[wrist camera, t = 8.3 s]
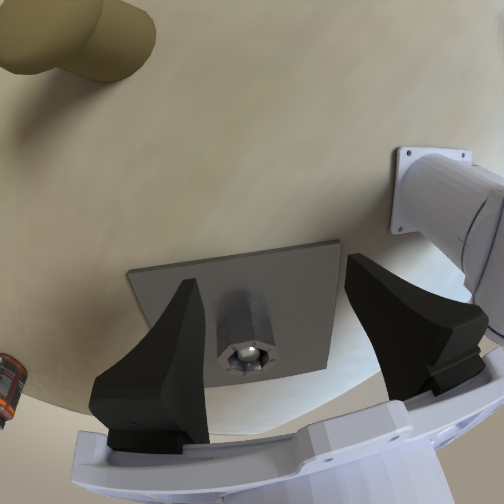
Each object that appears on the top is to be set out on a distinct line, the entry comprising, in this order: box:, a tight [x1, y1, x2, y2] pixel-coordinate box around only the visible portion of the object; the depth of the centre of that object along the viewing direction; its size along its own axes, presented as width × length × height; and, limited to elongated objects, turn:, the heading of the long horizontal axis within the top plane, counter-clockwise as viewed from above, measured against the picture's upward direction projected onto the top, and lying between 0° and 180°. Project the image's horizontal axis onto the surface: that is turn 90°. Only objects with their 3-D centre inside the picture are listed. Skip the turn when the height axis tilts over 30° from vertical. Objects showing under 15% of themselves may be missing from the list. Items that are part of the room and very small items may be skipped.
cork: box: [0, 0, 156, 83], centre depth 9 cm, size 6×6×11 cm
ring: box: [216, 312, 279, 377], centre depth 26 cm, size 5×5×4 cm
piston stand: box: [128, 240, 341, 388], centre depth 27 cm, size 18×18×3 cm
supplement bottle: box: [0, 354, 27, 430], centre depth 24 cm, size 6×6×11 cm
